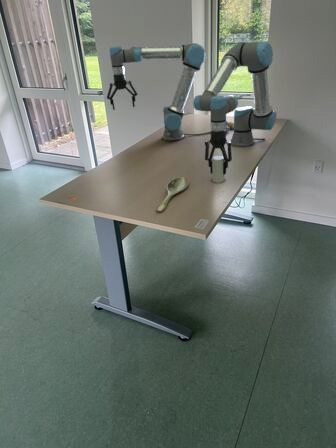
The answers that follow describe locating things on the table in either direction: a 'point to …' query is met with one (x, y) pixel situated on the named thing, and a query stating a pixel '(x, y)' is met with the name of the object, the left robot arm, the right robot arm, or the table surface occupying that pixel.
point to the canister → (217, 169)
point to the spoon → (174, 190)
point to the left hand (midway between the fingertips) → (123, 108)
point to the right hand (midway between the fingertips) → (218, 173)
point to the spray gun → (230, 124)
